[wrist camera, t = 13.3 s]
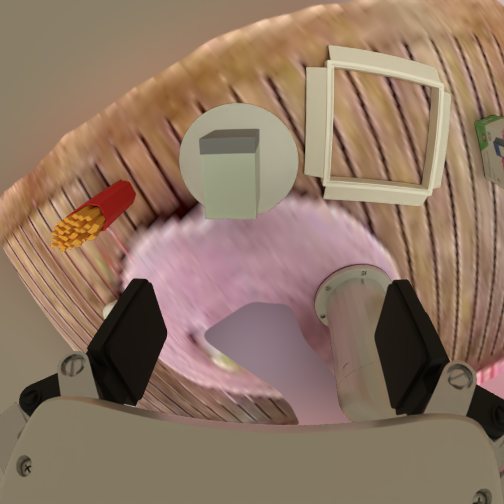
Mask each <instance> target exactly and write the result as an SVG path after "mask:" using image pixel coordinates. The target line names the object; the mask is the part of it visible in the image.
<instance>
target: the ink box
mask: <svg viewBox="0 0 504 504" xmlns="http://www.w3.org/2000/svg"><path fill="white" fill-rule="evenodd" d="M475 127H476V131H477V135H478V140H479V144H480V149H481V154H482V159H483V165H484V171H485V178H487V179H488V180H490V181H492V182H494V183H495V184H497V185H498V186H500V187H501V188H503V189H504V117H500V116H496V115H493V116H490V117H487V118H484V119H482V120H479V121H476V122H475Z"/></svg>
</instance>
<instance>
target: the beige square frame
mask: <svg viewBox="0 0 504 504" xmlns="http://www.w3.org/2000/svg"><path fill="white" fill-rule="evenodd" d="M328 48H329V55H330V60H326V61H325V62H324V68H318V67H306V75H307V91H306V145H305V172H304V174H305V175H310V176H316V177H321V183H322V185H323V186H326V187H325V192H324V196H323V199H334V200H351V201H366V202H379V203H391V204H402V205H413V206H422V204H423V203H424V201H425V199H426V198H427V196H428V195H429V196H431V195H432V190H433V188H439V187H440V185H441V180H442V174H443V168H444V162H445V155H446V148H447V140H448V130H449V119H450V105H451V94H449V93H447V92H444V84H443V83H440V79H439V76H438V73H437V70H436V68H435V67H432V66H429V65H425V64H422V63H419V62H415V61H411V60H408V59H404V58H400V57H396V56H391V55H387V54H382V53H377V52H372V51H366V50H361V49H354V48H347V47H340V46H332V45H328ZM334 69H342V70H349V71H357V72H363V73H369V74H375V75H380V76H386V77H391V78H395V79H400V80H404V81H408V82H413V83H416V84H420V85H424V86H428V87H431V108H430V122H429V133H428V142H427V151H426V158H425V165H424V172H423V178H422V184H421V185H419V184H411V183H403V182H394V181H385V180H375V179H364V178H352V177H338V176H330V169H331V154H332V135H333V109H334Z"/></svg>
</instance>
